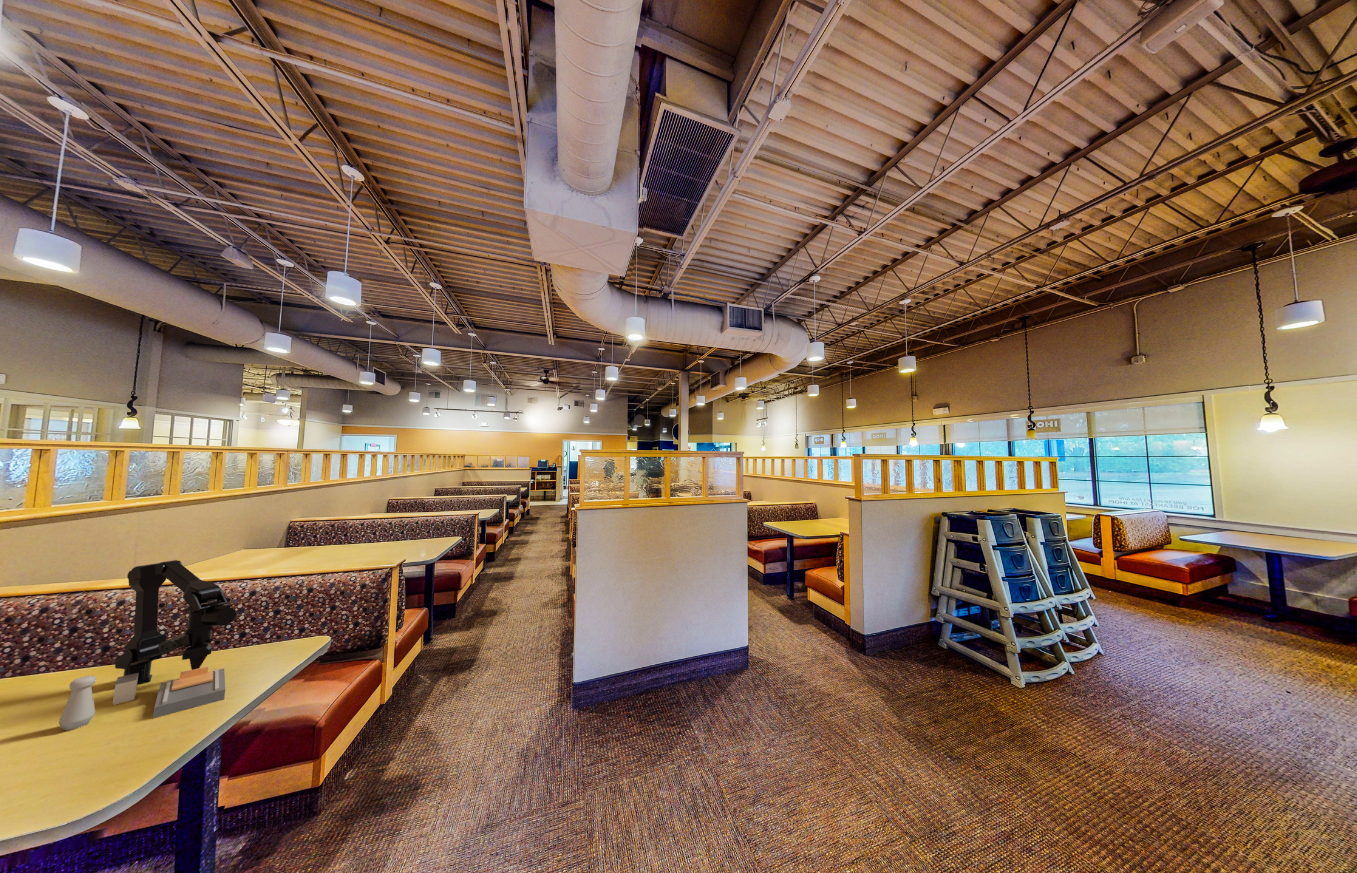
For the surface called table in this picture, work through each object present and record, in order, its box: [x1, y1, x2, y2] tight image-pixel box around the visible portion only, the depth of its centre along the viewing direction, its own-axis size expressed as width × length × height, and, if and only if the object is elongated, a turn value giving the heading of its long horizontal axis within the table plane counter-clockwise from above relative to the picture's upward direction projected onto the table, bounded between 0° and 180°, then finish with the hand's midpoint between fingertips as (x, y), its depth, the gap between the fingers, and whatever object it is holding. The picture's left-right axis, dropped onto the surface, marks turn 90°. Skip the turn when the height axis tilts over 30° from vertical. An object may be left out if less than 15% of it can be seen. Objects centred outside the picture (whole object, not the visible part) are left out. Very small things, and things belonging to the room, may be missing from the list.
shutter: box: [172, 666, 214, 691], centre depth 134 cm, size 9×9×3 cm
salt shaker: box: [58, 675, 97, 731], centre depth 116 cm, size 6×6×13 cm
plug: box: [112, 673, 139, 706], centre depth 129 cm, size 4×4×7 cm
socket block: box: [152, 668, 226, 719], centre depth 132 cm, size 22×14×4 cm, turn 49°
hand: (194, 672), depth 138 cm, fingers closed
